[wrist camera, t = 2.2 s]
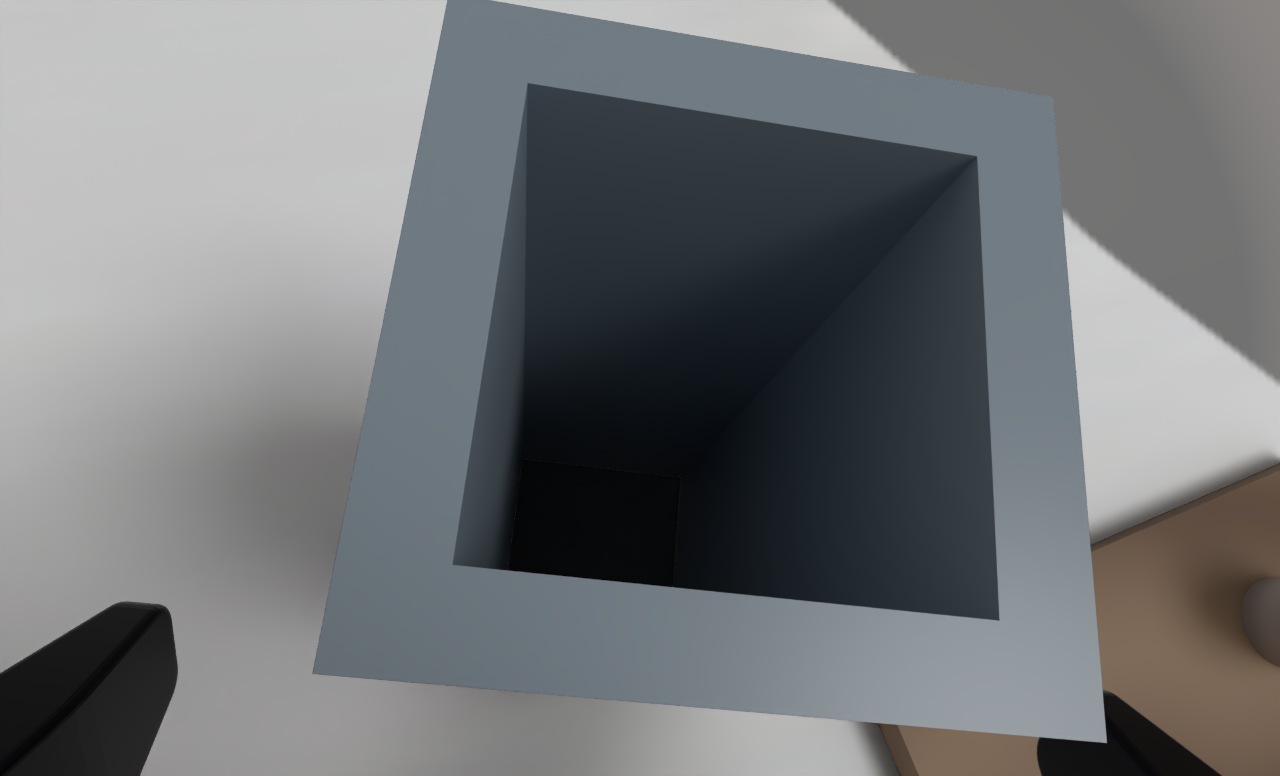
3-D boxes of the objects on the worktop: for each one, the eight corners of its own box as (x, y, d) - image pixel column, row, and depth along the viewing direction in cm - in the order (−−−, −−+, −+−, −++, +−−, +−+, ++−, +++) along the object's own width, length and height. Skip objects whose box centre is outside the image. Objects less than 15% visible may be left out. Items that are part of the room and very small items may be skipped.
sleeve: (707, 689, 18) (1138, 779, 5) (450, 667, 17) (269, 706, 5) (721, 444, 19) (1073, 81, 7) (488, 416, 19) (427, -31, 6)
